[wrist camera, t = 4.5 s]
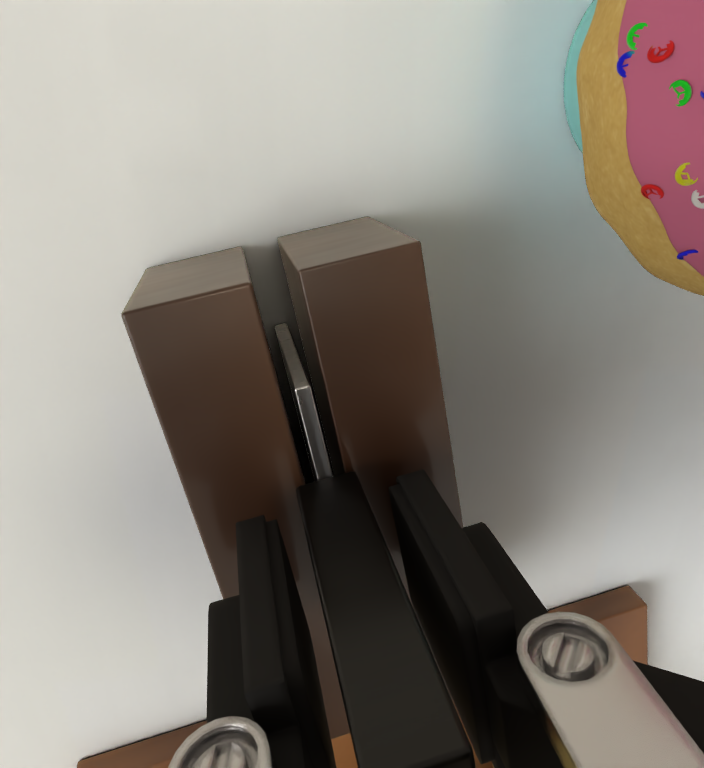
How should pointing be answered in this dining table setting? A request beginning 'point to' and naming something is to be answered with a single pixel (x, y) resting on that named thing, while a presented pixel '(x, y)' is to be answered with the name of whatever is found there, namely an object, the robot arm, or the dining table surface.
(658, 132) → the cupcake
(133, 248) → the dining table surface
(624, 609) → the board
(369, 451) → the knife block
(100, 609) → the dining table surface
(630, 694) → the robot arm
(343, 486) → the knife
